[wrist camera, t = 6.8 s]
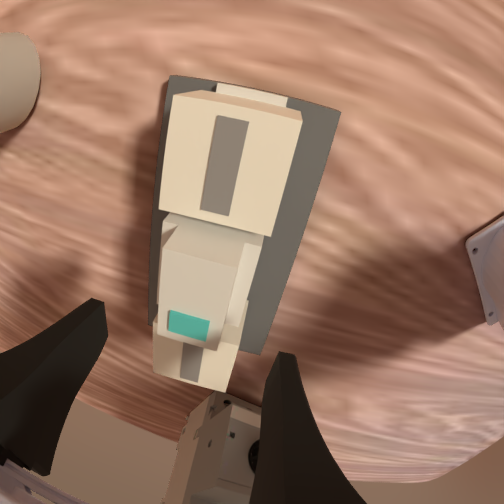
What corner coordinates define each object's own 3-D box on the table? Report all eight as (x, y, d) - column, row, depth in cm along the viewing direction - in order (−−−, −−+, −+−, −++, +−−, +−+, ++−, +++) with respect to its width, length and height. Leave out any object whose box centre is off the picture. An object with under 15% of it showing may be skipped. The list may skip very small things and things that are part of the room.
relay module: (189, 189, 17) (143, 245, 12) (269, 210, 17) (256, 276, 12) (178, 263, 20) (141, 332, 15) (248, 282, 20) (231, 358, 15)
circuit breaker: (320, 388, 27) (316, 546, 14) (242, 438, 34) (222, 550, 21) (250, 357, 26) (217, 533, 13) (186, 416, 33) (152, 532, 20)
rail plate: (176, 75, 15) (128, 77, 11) (338, 110, 16) (358, 125, 11) (152, 316, 25) (126, 368, 20) (261, 345, 25) (252, 404, 20)
